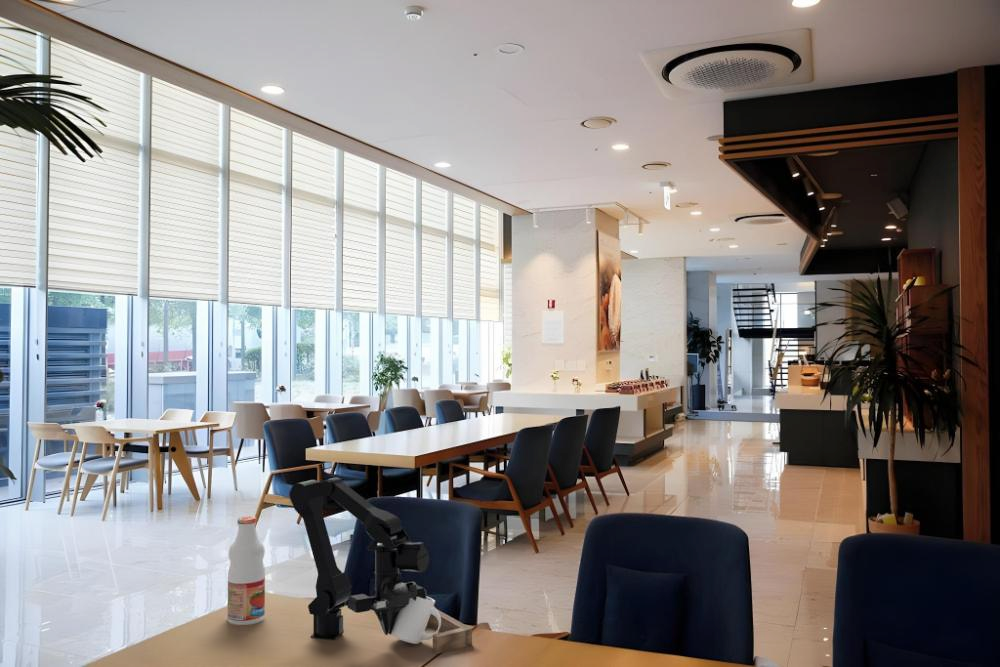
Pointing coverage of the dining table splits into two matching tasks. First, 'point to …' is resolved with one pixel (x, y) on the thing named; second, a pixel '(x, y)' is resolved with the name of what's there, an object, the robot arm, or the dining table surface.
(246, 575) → the fruit juice
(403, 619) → the mug
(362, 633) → the dining table surface
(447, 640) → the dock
